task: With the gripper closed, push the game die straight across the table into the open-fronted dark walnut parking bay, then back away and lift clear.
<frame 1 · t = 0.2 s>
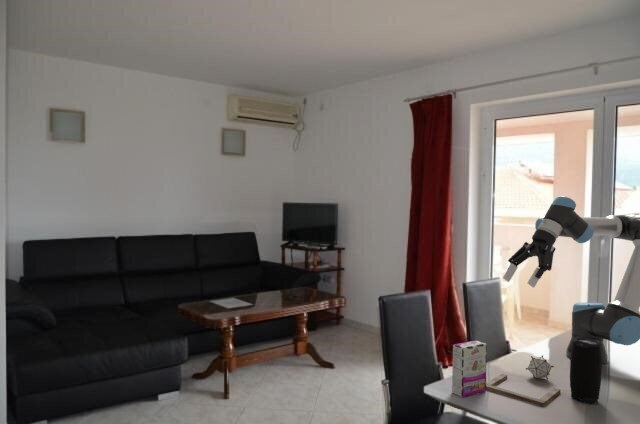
hand: (517, 282, 174), 35 cm above the table, tool tilted 35°, fingers open, 13 cm apart
candy bar box: (468, 393, 160), on the table
portable speaker: (584, 400, 157), on the table
game die: (539, 379, 176), on the table
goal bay: (522, 389, 164), on the table
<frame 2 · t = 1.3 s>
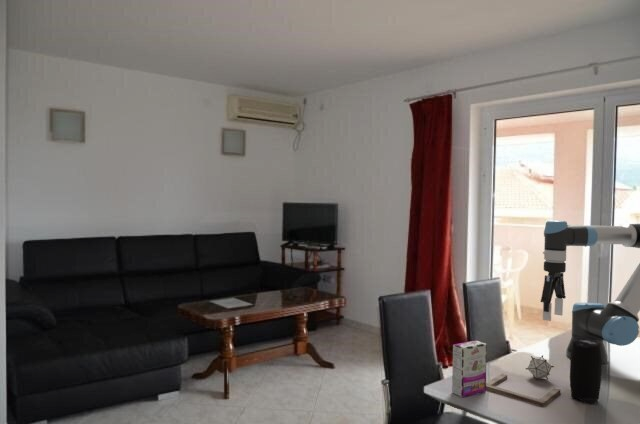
hand: (552, 317, 184), 20 cm above the table, tool pointing down, fingers open, 12 cm apart
nothing on the table moved.
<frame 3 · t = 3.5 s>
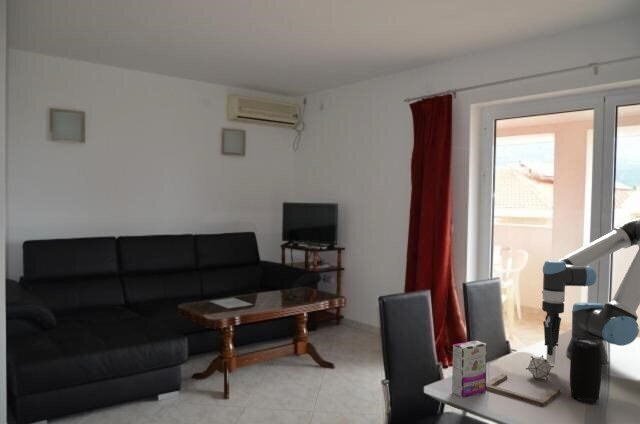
hand: (550, 362, 184), 3 cm above the table, tool pointing down, fingers closed
nothing on the table moved.
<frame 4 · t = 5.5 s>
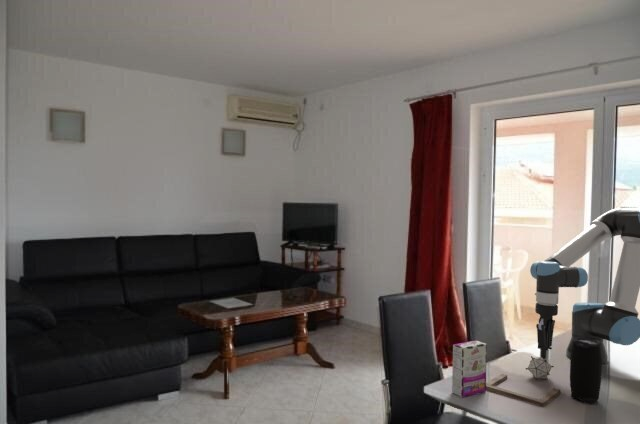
hand: (543, 366, 179), 3 cm above the table, tool pointing down, fingers closed
game die: (539, 379, 176), on the table, touching gripper
everything else where it was.
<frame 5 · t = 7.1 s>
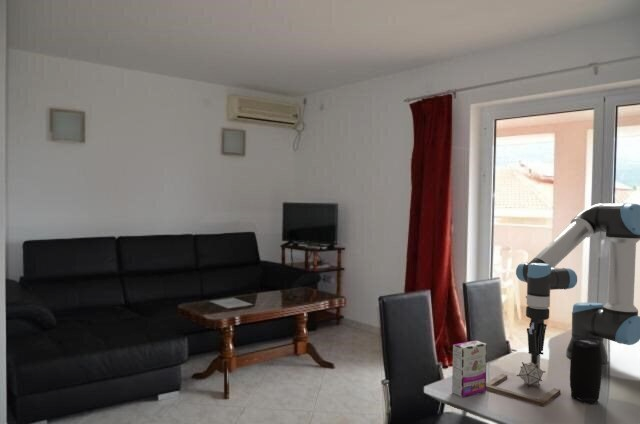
hand: (535, 372, 173), 3 cm above the table, tool pointing down, fingers closed
game die: (530, 385, 169), on the table, touching gripper
everything else where it was.
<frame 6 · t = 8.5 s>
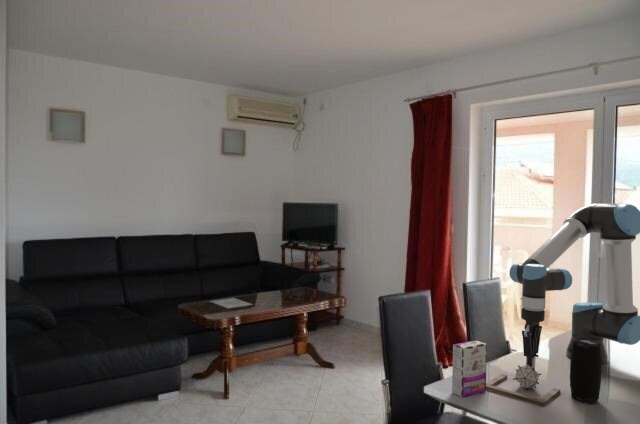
hand: (530, 374, 170), 3 cm above the table, tool pointing down, fingers closed
game die: (527, 388, 166), on the table, touching gripper
everything else where it was.
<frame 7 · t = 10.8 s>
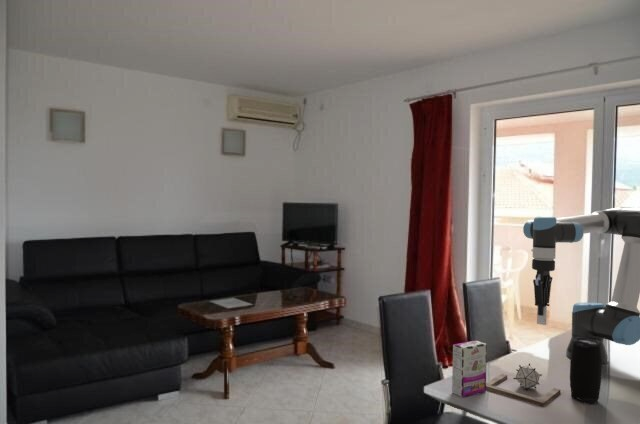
hand: (541, 323, 175), 20 cm above the table, tool pointing down, fingers closed
game die: (527, 388, 166), on the table
everything else where it was.
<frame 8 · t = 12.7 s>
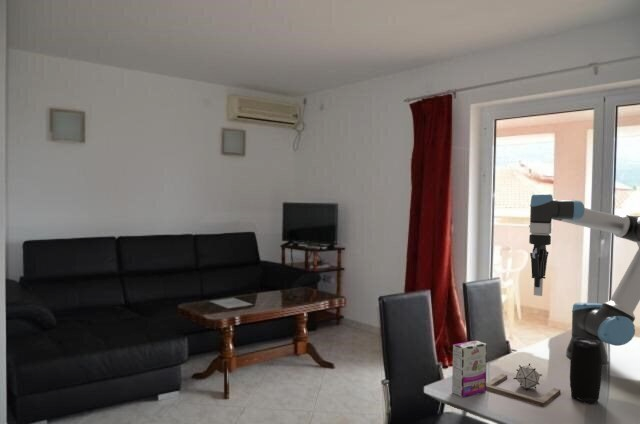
hand: (537, 295, 186), 28 cm above the table, tool pointing down, fingers closed
nothing on the table moved.
at the end: game die inside the target area on the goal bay (2.3 cm from its centre), point 0.0 cm above the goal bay's base; game die tilted 0° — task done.
